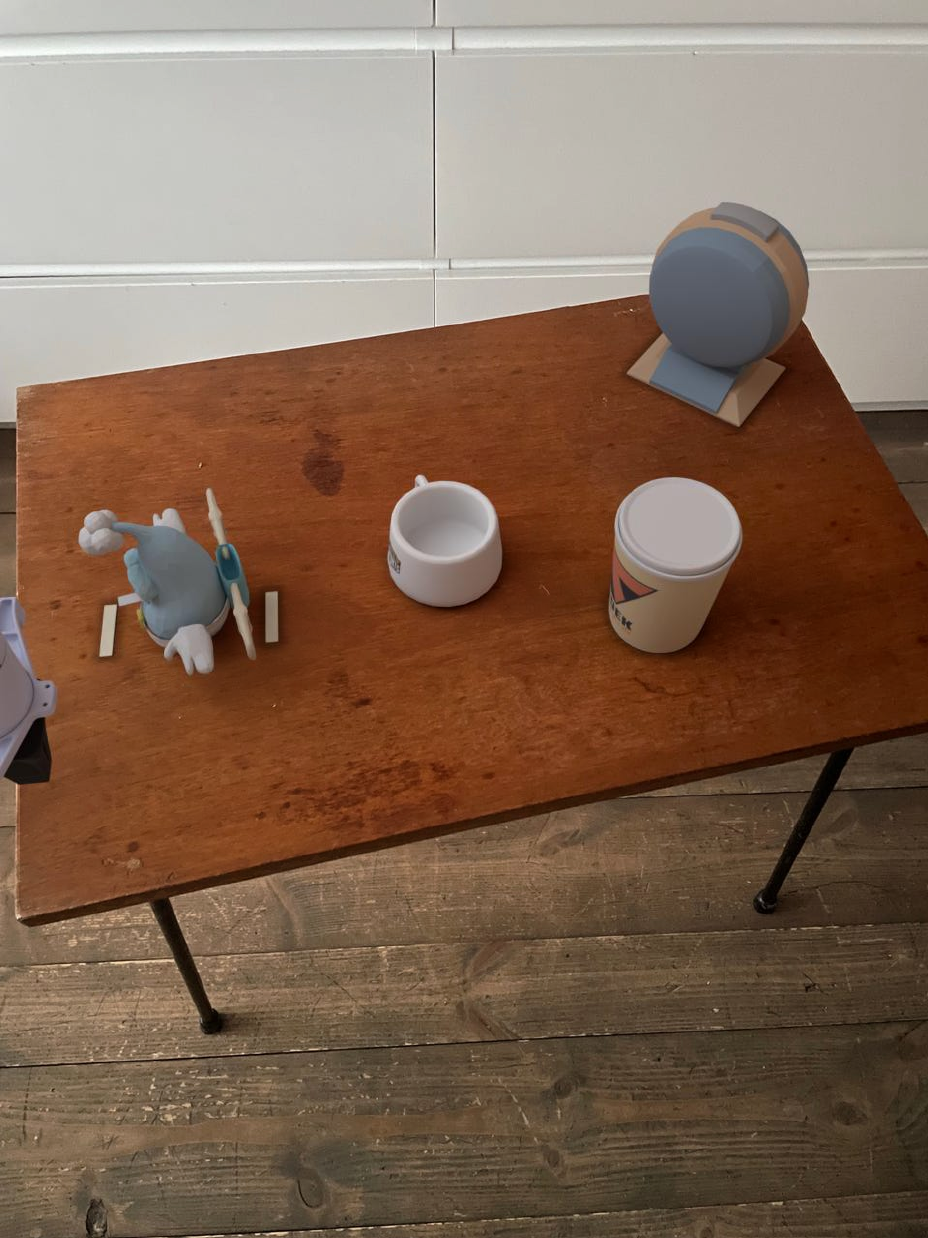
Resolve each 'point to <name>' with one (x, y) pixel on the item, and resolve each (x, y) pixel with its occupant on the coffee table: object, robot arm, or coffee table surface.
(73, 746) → the coffee table surface
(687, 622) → the coffee cup
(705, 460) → the coffee table surface
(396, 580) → the mug
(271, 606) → the tape marks
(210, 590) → the toy figure
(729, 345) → the alarm clock
